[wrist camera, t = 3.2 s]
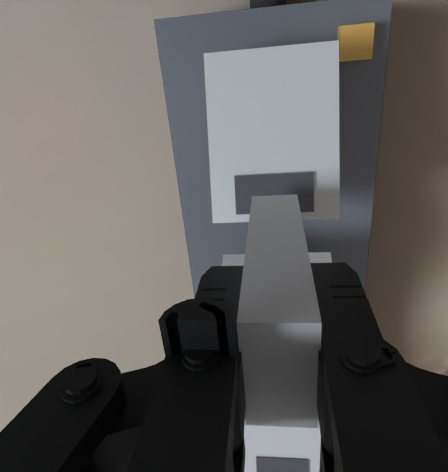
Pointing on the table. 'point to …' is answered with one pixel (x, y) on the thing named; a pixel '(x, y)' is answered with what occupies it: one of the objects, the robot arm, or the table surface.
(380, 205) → the table surface
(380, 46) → the switch strip
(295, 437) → the plate
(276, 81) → the plate
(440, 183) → the table surface
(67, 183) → the table surface
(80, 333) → the table surface
